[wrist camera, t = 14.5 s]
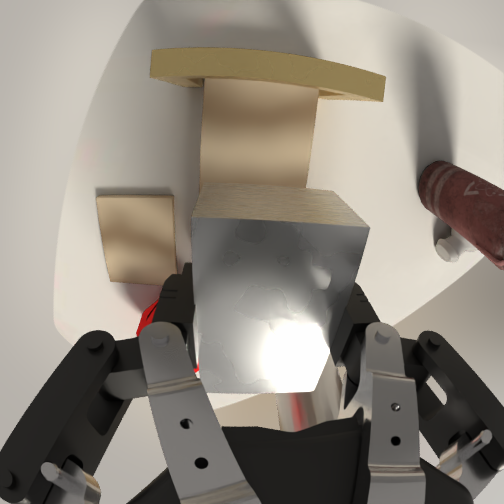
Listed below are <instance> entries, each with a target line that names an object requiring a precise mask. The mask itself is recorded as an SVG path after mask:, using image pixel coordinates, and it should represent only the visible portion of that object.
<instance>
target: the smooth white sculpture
mask: <svg viewBox="0 0 504 504" xmlns="http://www.w3.org/2000/svg"><path fill="white" fill-rule="evenodd" d="M476 250H478V249H477V248H476V247H475V246H473V245H472V244H471V243H470V242H469V241H467V240H466V239H465V238H464V237H463V236H461V235H460V234H459V233H458V232H456V231H455V230H454V229H453V228H452V229H451V236H450V237H448V238H446V239H439V240H438V242H437V245H436V252H437V254H438V255H439V256H440V257H441V258H442V259H443V260H444V261H446V262H457V261H458V259H459V256H460V255H461V254H462V253H464V252H465V251H467V252H473V251H476Z"/></svg>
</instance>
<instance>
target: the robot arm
mask: <svg viewBox="0 0 504 504" xmlns="http://www.w3.org/2000/svg"><path fill="white" fill-rule="evenodd" d="M198 354H199V346H198V333H197V317H196V305H195V304H194V293H193V272H192V263H189V262H185V265H184V268H183V272H182V274H171V275H170V276H169V277H168V278H167V279H166V280H165V282H164V285H163V288H162V291H161V294H160V298H159V300H158V303H157V306H156V309H155V312H154V316H153V319H152V322H151V324H149V325H147V326H146V327H144V328H143V329H142V330H141V332H140V334H139V336H138V337H135V338H131V339H125V340H118V341H115V340H114V338H113V336H112V335H111V334H110V333H108V332H106V331H101V330H95V331H91V332H88V333H86V334H84V335H83V336H82V337H81V338H80V339H79V340H78V341H77V342H76V344H75V345H74V346H73V347H72V349H71V350H70V351H69V353H68V354H67V355H66V356H65V358H64V359H63V360H62V362H61V363H60V364H59V366H58V367H57V368H56V369H55V371H54V372H53V373H52V375H51V376H50V378H49V379H48V380H47V382H46V383H45V384H44V386H43V387H42V389H41V390H40V391H39V393H38V394H37V396H36V397H35V399H34V400H33V402H32V403H31V404H30V406H29V407H28V409H27V410H26V412H25V413H24V415H23V416H22V418H21V419H20V421H19V422H18V424H17V425H16V427H15V428H14V430H13V431H12V433H11V435H10V436H9V438H8V440H7V441H6V443H5V444H4V446H3V448H2V450H1V451H0V497H1V498H2V499H3V500H5V501H7V502H9V503H11V504H99V501H100V497H101V490H100V487H99V484H98V482H97V481H96V480H95V479H94V477H93V475H94V473H95V471H96V469H97V467H98V465H99V463H100V461H101V459H102V457H103V455H104V453H105V451H106V449H107V447H108V445H109V443H110V441H111V439H112V437H113V436H114V434H115V432H116V430H117V428H118V426H119V424H120V422H121V420H122V418H123V416H124V414H125V412H126V411H127V409H128V407H129V405H130V403H131V401H132V399H133V398H139V397H145V396H148V398H149V402H150V406H151V410H152V414H153V418H154V422H155V425H156V429H157V433H158V437H159V440H160V444H161V447H162V450H163V453H164V457H165V460H166V463H167V466H168V467H167V468H166V469H165V470H164V471H163V472H162V473H161V474H160V475H159V476H158V477H157V478H155V479H154V480H153V481H152V482H151V483H150V484H149V485H148V486H147V487H145V488H144V489H143V490H142V491H141V492H140V493H138V494H137V495H136V496H135V497H134V498H133V499H131V500H130V501H129V502H128V503H127V504H474V503H473V499H475V498H476V496H477V495H478V494H479V493H480V492H481V491H482V490H483V489H484V488H485V487H486V486H487V484H488V483H489V482H490V481H491V480H492V479H493V477H494V476H495V475H496V474H497V473H498V472H500V471H502V470H503V469H504V407H503V406H502V404H501V403H500V402H499V401H498V399H497V398H496V397H495V396H494V394H493V393H492V392H491V391H490V390H489V388H488V387H487V386H486V385H485V384H484V382H483V381H482V380H481V379H480V378H479V377H478V375H477V374H476V373H475V372H474V371H473V370H472V368H471V367H470V366H469V365H468V364H467V363H466V362H465V361H464V359H463V358H462V357H461V356H460V355H459V354H458V353H457V352H456V351H455V350H454V348H453V347H452V346H451V345H450V344H449V343H448V342H447V341H446V340H445V339H444V338H443V337H442V336H441V335H440V334H438V333H436V332H433V331H424V332H422V333H421V334H420V335H419V337H418V339H417V340H412V339H406V338H401V337H400V335H399V333H398V332H397V331H396V329H395V328H393V327H392V326H390V325H388V324H386V323H382V322H380V320H379V318H378V316H377V315H376V313H375V311H374V309H373V308H372V306H371V304H370V302H368V299H367V297H366V296H365V295H364V292H363V290H362V289H361V287H360V286H359V285H358V284H357V283H356V282H354V286H353V289H352V292H351V295H350V298H349V301H348V304H347V306H345V309H344V312H343V315H342V318H341V320H340V323H339V326H338V329H337V331H336V334H335V337H334V340H333V342H332V345H331V347H330V353H329V355H328V358H327V360H326V363H325V365H324V368H323V370H322V372H321V375H320V377H319V380H318V382H317V384H316V386H315V389H314V391H304V392H287V393H276V402H277V410H278V416H279V425H280V430H274V429H268V428H262V427H224V426H222V429H221V427H220V424H219V422H218V420H217V418H216V415H215V413H214V411H213V408H212V406H211V403H210V401H209V399H208V396H207V394H206V391H205V389H204V386H203V384H202V382H201V380H200V379H199V378H197V376H196V374H195V371H194V369H197V365H198ZM341 366H345V367H346V370H347V371H346V372H345V374H344V377H343V384H342V381H341V378H340V374H339V371H338V368H337V367H341ZM431 375H432V377H433V378H434V379H435V380H436V382H437V383H438V384H439V385H440V387H441V388H442V389H443V390H444V391H445V393H446V395H447V402H446V404H445V405H443V404H442V403H441V401H440V400H439V399H438V397H437V396H436V395H435V394H434V392H433V391H432V390H431V389H430V387H429V386H428V385H427V383H426V381H427V380H428V379H429V378H430V376H431ZM419 430H420V432H421V433H422V434H423V436H424V437H425V439H426V440H427V442H428V443H429V445H430V446H431V448H432V449H433V451H434V452H435V453H436V455H437V457H438V458H439V459H440V464H438V465H437V467H434V466H433V465H431V464H430V463H428V462H427V461H425V460H424V459H422V458H421V457H420V453H419V452H420V451H419V450H420V447H419Z"/></svg>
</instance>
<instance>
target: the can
mask: <svg viewBox="0 0 504 504" xmlns="http://www.w3.org/2000/svg"><path fill="white" fill-rule="evenodd" d="M419 196H420V199H421V202H422V204H423V205H424V207H425V208H426V209H428V210H429V211H430V212H432V213H433V214H434V215H436V216H437V217H438V218H440V219H441V220H442V221H444V222H445V223H446V224H448V225H449V226H450V227H451V228H453V229H454V230H455V231H456V232H458V233H459V234H460V235H461V236H463V237H464V238H465V239H466V240H467V241H469V242H470V243H471V244H472V245H473V246H475V247H476V248H477V249H478V250H479V251H480V252H481V253H483V254H484V255H485V256H486V257H487V258H488V259H489V260H490V261H492V262H493V263H494V264H495V265H496V266H497V267H498V268H499V269H501V270H504V190H502V189H501V188H499V187H497V186H495V185H493V184H491V183H490V182H488V181H486V180H484V179H482V178H480V177H478V176H476V175H474V174H472V173H470V172H468V171H466V170H464V169H461V168H459V167H457V166H455V165H453V164H451V163H448V162H445V161H436V162H434V163H432V164H431V165H429V166H428V167H427V168H426V169H425V170H424V171H423V173H422V175H421V177H420V181H419Z"/></svg>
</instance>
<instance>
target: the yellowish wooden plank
mask: <svg viewBox="0 0 504 504" xmlns="http://www.w3.org/2000/svg"><path fill="white" fill-rule="evenodd" d="M150 78H154V79H158V80H161V81H165V82H168V83H172V84H175V85H179V86H182V87H202V83H203V78H214V79H237V80H251V81H263V82H272V83H281V84H288V85H295V86H302V87H308V88H314V89H319V93H318V98H322V99H327V100H359V101H376V102H383V98H384V89H385V80H386V77H385V76H382V75H379V74H376V73H373V72H370V71H366V70H363V69H359V68H355V67H352V66H348V65H344V64H340V63H335V62H331V61H326V60H322V59H317V58H312V57H306V56H300V55H294V54H287V53H280V52H272V51H263V50H252V49H238V48H210V47H198V48H170V49H156V50H152V56H151V68H150Z"/></svg>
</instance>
